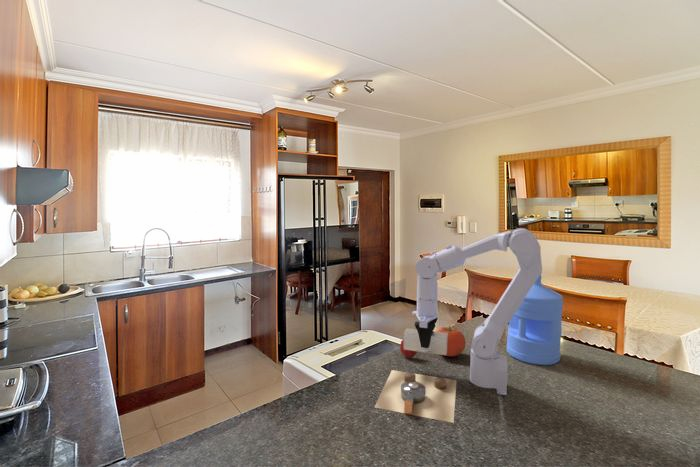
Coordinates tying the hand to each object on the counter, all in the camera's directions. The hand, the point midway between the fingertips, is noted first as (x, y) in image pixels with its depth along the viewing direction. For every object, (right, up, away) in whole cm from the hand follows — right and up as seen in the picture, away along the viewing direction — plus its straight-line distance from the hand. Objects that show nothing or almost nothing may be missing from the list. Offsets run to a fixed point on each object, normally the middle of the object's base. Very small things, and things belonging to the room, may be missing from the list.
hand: (426, 344), depth 101 cm
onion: (-3, -8, +11) cm, 14 cm away
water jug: (+38, -8, +14) cm, 41 cm away
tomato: (+11, -8, +14) cm, 19 cm away
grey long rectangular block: (0, -2, 0) cm, 2 cm away
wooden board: (-4, -10, -12) cm, 16 cm away
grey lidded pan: (-7, -9, -16) cm, 20 cm away
